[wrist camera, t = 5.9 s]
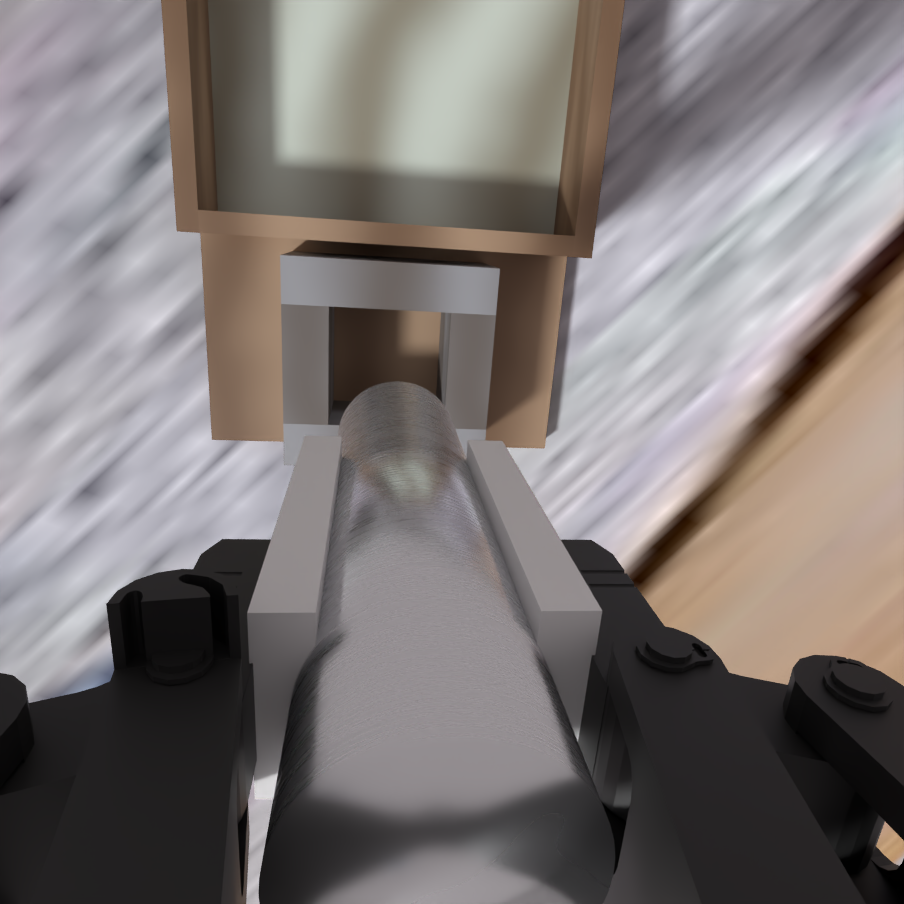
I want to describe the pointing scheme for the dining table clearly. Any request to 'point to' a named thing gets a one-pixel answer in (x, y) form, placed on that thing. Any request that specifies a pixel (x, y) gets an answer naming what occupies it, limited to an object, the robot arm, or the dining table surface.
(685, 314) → the dining table surface
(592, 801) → the rod
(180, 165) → the board
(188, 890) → the robot arm
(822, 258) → the dining table surface
